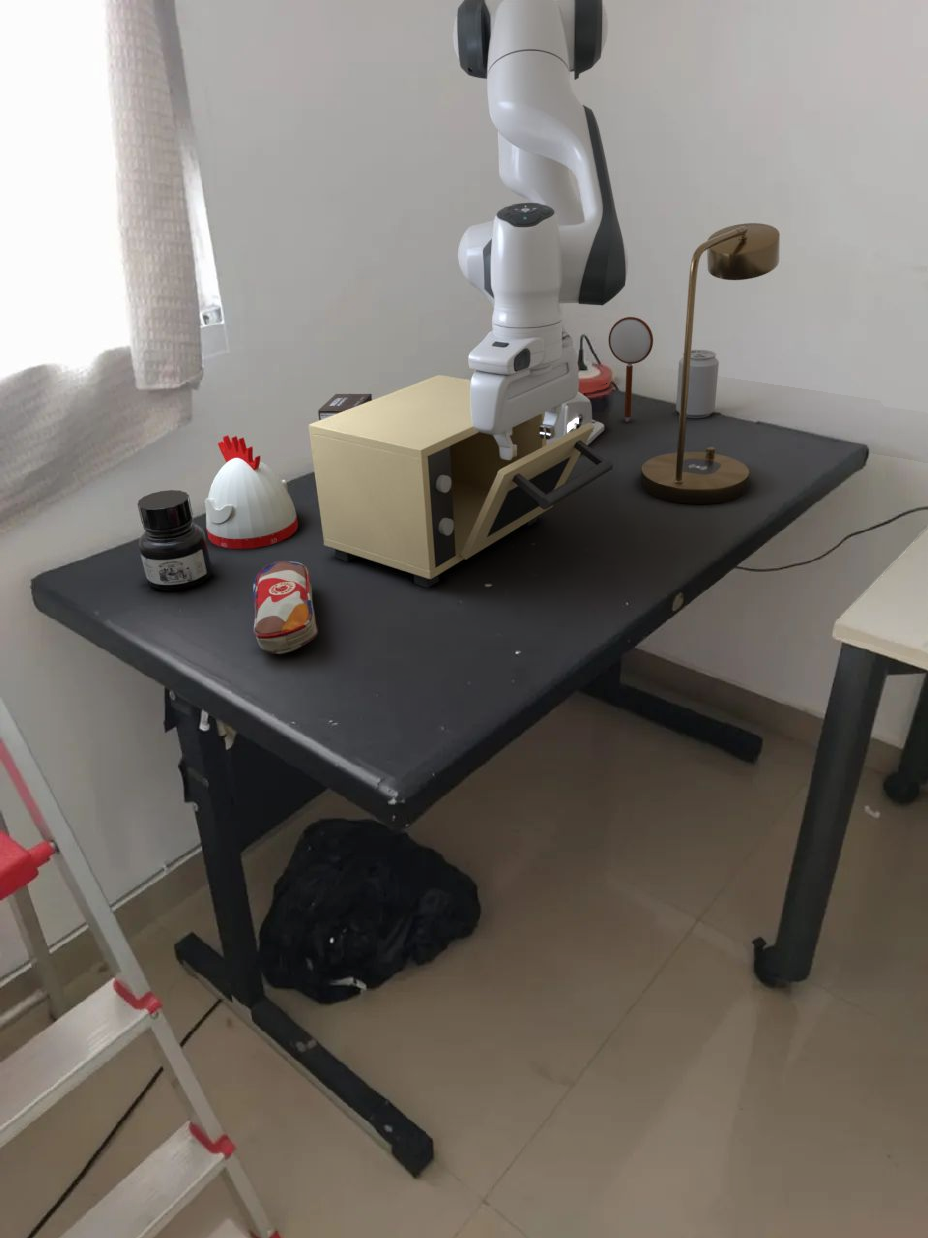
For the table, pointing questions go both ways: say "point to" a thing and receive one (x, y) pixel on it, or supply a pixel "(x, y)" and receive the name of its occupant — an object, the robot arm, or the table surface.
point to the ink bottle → (172, 542)
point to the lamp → (689, 472)
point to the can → (699, 383)
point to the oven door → (533, 487)
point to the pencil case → (283, 607)
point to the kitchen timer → (247, 501)
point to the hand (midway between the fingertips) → (528, 447)
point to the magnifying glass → (630, 349)
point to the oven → (409, 476)
